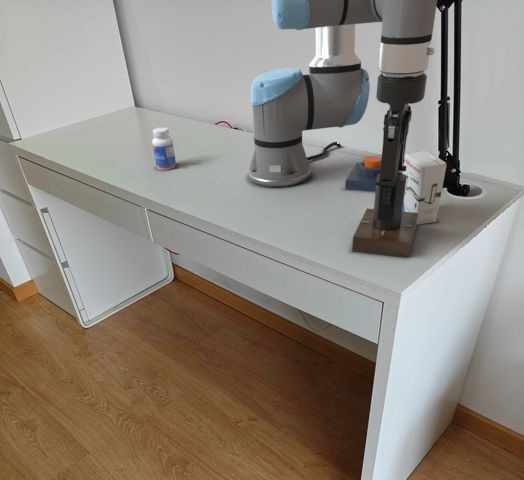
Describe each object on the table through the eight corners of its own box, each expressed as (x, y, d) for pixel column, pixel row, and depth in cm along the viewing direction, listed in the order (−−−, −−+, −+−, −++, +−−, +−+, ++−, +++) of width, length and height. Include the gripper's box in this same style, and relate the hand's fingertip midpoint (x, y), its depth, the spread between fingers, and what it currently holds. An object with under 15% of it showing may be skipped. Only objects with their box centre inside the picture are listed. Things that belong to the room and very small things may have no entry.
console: (365, 222, 102) (366, 207, 100) (415, 227, 99) (418, 212, 97) (352, 251, 93) (353, 235, 91) (407, 257, 90) (409, 241, 88)
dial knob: (375, 217, 97) (379, 169, 91) (402, 219, 95) (408, 170, 89) (370, 228, 93) (374, 179, 87) (398, 231, 91) (404, 181, 85)
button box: (356, 171, 125) (357, 155, 122) (396, 174, 122) (398, 157, 119) (345, 189, 116) (346, 172, 114) (388, 192, 113) (390, 175, 111)
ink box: (396, 209, 106) (403, 152, 99) (418, 205, 107) (426, 149, 99) (414, 225, 99) (423, 166, 92) (437, 222, 100) (448, 162, 93)
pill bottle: (152, 168, 136) (145, 130, 130) (166, 162, 139) (159, 125, 133) (166, 171, 133) (160, 133, 127) (180, 165, 136) (174, 127, 130)
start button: (366, 163, 119) (366, 155, 118) (382, 164, 118) (383, 156, 117) (362, 168, 116) (363, 161, 115) (379, 169, 115) (380, 162, 114)
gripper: (420, 86, 70) (401, 236, 85) (433, 61, 83) (414, 196, 98) (367, 85, 73) (357, 232, 87) (387, 61, 86) (376, 193, 100)
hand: (387, 212), depth 92 cm, fingers closed on dial knob, 5 cm apart
